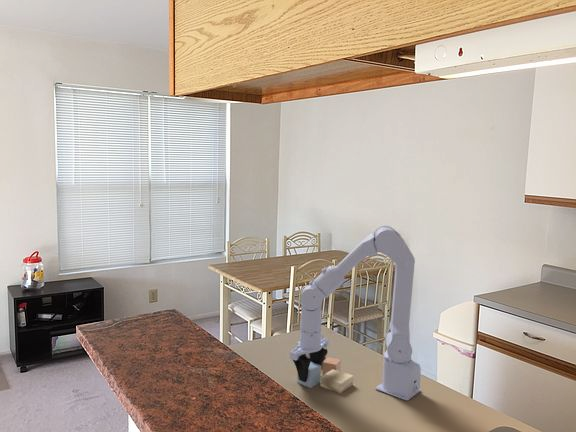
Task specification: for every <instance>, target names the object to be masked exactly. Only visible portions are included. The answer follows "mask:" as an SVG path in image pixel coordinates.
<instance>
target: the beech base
mask: <svg viewBox="0 0 576 432" xmlns="http://www.w3.org/2000/svg"><path fill="white" fill-rule="evenodd" d="M353 384H354V375H352V374H351V373H347V372H344V371H341V370H340V371H338V370H335V369H332V370H331V371H329V372H327V373H326V374H324V375H322V374H321V375H320V383H319V386H320V387H321V388H324V389H327V390H330V391H333V392H335V393H338V394H342V393H343V392H344V391H347V390H348V389H349V388H350V387H353Z"/></svg>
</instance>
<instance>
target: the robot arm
mask: <svg viewBox="0 0 576 432" xmlns="http://www.w3.org/2000/svg"><path fill="white" fill-rule="evenodd" d="M378 252H379V253H381V254H382V255H383V256H384V255H385V256H386V257H388V258H390V260H391V261H393V262H394V264H395V270H394V280H393V281H394V282H393V292H392V293H393V294H392V305H391V315H390V316H391V317H390V321H389V325H388V329H387V332H386V333H385V335H384V342H385V344H386V348H387V349H386V350H385V351H384V353H383V359H382V360H383V361H382V363H383V364H382V377H381V378H382V379H381V381H382V383H380V384H378V385H377V386H375V390H377V391H380V392H383V393H385V394H388V395H390V396H392V397H396V398H399V399H400V400H401V399H402V400H404V401H409V400H411V399H412V398H413V397H414V396H416V395H417V394H418V393H419V392H421V390H422V389H421V388H420V385H421V366H420V364H419V363H418V362H415V361H414V360H413V359H412V354H413V348H412V345H411V343H410V338H411V335H410V317H411V309H412V306H411V305H412V296H413V286H414V274H415V261H416V260H415V256H414V255H413V252H412V251H411V250H410V248H409V246H408V245H407V243H406V241H405V239H404V238H403V237H402V235H401V234H400V233H399V232H398V231H397V230H396V229H394V228H393V227H392V226H389V225H381V226H379V227H377V228H376V229H375V231H374V233H373V232H371V233H369V234H368V235H367V236H366V237H365V238H364V239H362V241H360V242H359V243H358V244H357V245H356V246H355V247H354V248H353V249H352V250H350V252H349V253H348V254H347V255H346V256H345V257H344V258H343V259H342V260H341V261H340V262H339V263H338V264H337V265H329V266H328V267H327V268H326V266H325V267H323V268H322V269H321V273H320V274H319V275H318V276H317V277H316V278H315V279H314V280H312V279H311V280H310V281H309V283H308V284H307V285H306V286H304V288H303V289H302V291H301V294H300V303H301V306H300V310H301V312H300V318H299V319H300V320H299V321H300V324H299V341H297V342H296V345H297V346H296V347H295V348H294V349H293V350H291V351H290V352H289V354H290V355H289V359H290V360H292V361H293V363H294V366H295V368H296V371H297V375H298V377H299V380H300V381H303V382H306V381H307V377H308V369H309V365H310V363H311V362H313V363H316V364H319V365H321V366H323V361H324V360H325V359H326V356H327V354H328V353H329V351H328V349H327V350H326V349H323V346H325V347H327V348H328V347H329V338H325V337H324V338H321V334H322V320H323V319H322V318H323V317H322V311H321V310H322V305H323V301H324V299H327V298H329V296H330V295H332V294H333V293H334V292H335V291H336V290H338V288H339V287H340V286H341V285H343V283H344V282H345V275H347V274H348V273H349V272H350V271H351V270H352V269H353V268H355V267H356V266H357V265H358V264H360V262H362V261H363V260H364V259H365V258H367V257H370V256H371V257H372V256H378V255H379V254H378ZM308 353H309V355H310V359H309V358H307V356H306V354H308Z"/></svg>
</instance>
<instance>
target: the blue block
mask: <svg viewBox="0 0 576 432" xmlns="http://www.w3.org/2000/svg"><path fill="white" fill-rule="evenodd" d="M321 370H322V365H319V364H316V363H313V362H311V363H310V365H309V369H308V377H307V381H306V382H303V381H300V380H299V377H298V374H297V377H296V378H297V379H296V381H297V384H300V385H302V386H304V387H308V388H309V389H311V388H313V387H315V386H317V385H319V384H320V379H321V376H322V374H321V373H322V371H321Z"/></svg>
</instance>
